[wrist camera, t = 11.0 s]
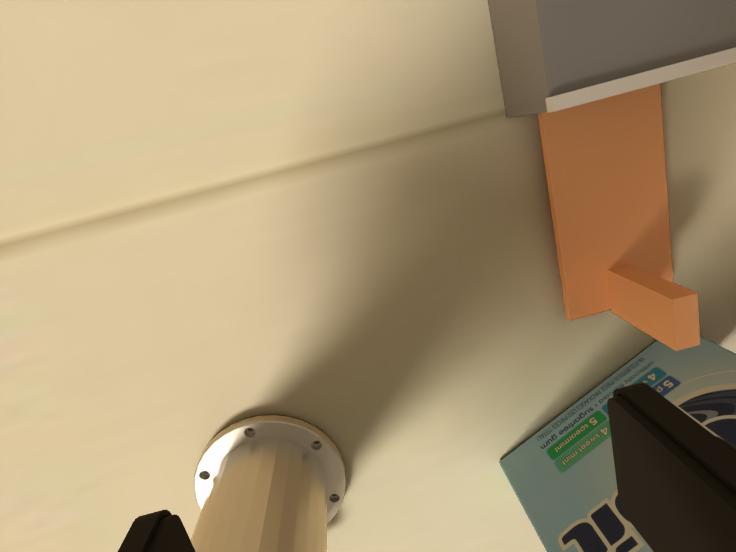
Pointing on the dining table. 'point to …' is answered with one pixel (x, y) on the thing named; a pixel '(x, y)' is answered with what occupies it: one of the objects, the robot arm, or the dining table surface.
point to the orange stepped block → (616, 215)
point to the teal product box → (595, 454)
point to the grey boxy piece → (604, 47)
